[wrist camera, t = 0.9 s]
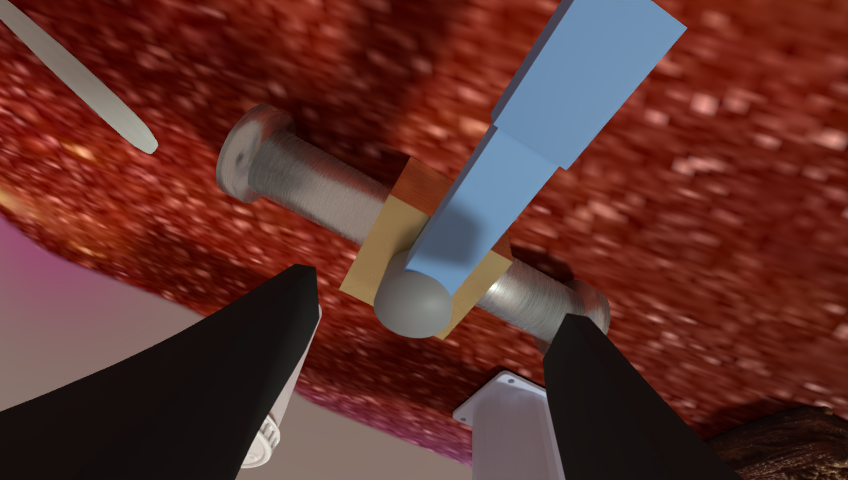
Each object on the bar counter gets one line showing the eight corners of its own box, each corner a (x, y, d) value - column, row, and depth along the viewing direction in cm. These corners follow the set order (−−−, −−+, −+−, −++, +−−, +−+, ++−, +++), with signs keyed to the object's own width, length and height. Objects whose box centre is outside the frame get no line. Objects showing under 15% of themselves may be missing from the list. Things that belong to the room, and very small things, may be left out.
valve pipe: (600, 265, 19) (638, 331, 15) (535, 323, 22) (550, 392, 18) (289, 86, 16) (220, 100, 12) (264, 182, 19) (201, 222, 15)
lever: (432, 313, 16) (427, 348, 14) (374, 285, 15) (361, 316, 13) (658, 37, 9) (704, 34, 7) (567, -31, 8) (593, -51, 7)
